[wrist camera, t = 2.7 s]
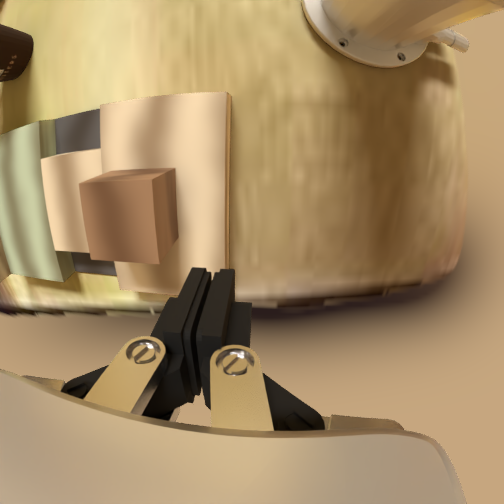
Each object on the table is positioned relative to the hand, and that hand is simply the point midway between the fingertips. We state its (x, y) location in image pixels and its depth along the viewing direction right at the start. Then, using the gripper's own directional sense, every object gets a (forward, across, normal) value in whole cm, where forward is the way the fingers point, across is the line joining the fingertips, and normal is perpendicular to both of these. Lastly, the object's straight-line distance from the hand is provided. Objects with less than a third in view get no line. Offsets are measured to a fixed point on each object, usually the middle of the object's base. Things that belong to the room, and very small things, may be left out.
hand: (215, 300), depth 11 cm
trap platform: (+15, +17, -1) cm, 23 cm away
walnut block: (+12, +8, -1) cm, 15 cm away
